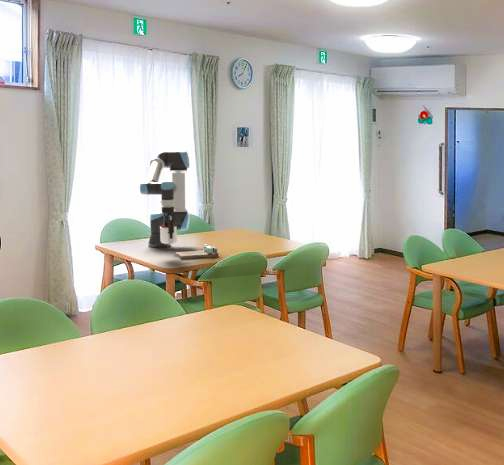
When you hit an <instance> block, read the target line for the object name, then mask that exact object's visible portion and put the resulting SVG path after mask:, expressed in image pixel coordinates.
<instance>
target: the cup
mask: <svg viewBox="0 0 504 465" xmlns="http://www.w3.org/2000/svg"><path fill="white" fill-rule="evenodd" d="M177 231H178V230H177V227H176V226H174V233H173V244H176V243H177V239H178V238H177V237H178V236H177V235H178V234H177ZM168 232H169V230H168V227H165V226H161V227H160V241H161V243H164V244H169V240H168Z"/></svg>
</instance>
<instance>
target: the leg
mask: <svg viewBox="0 0 504 465" xmlns="http://www.w3.org/2000/svg"><path fill="white" fill-rule="evenodd" d="M203 246H204V247H203V250H205V251H206V252H207V253H213V248H212V247H213V246H210V245H209V244H208V243H207V244H206V243H205V244H204V245H203Z"/></svg>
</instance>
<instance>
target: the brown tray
mask: <svg viewBox="0 0 504 465" xmlns="http://www.w3.org/2000/svg"><path fill="white" fill-rule="evenodd" d="M211 247H212V248H213V253H207V252H206V251H205V250H204V249H202V250H201V249H200V250H189V251H177V252H174V253H175V255H174V256H175V257H177V258H179V259H180V260H192V259H194V260H195V259H204V258H205V259H207V258H218V257H219V253H218V248H217V247H216V246H214V245H213V246H211Z"/></svg>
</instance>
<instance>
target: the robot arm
mask: <svg viewBox="0 0 504 465" xmlns="http://www.w3.org/2000/svg"><path fill="white" fill-rule="evenodd" d="M149 163H150V164H149V165H150V168H149V170H148V173H147V176H146V179H145V181H143V182H140V185H139V191H140V194H141V195H146V196H147V195H151V196H152V195H153V196H154V195H161V196H160V197H161V201H160V203H161V211H155V212H152V213H151V214H150V218H149V221H150V222H149V223H150V236H149V238H148V242H147V243H148V247H150V248H165V247H170V246H171V244H174V243H173V233H174V226H176V227H177V231H187V230H188V229H189V226H190V220H191V214H190V213H189V212H188V210H187V209H186V173H187V171H188V169H189V168H190V157H189V153H188V151H186V150H162V151H159V152H157V153H156V154H154V156H153V157H152V158H151V160H150V162H149ZM164 169H169V171H170V172H171V173H172V174H171V177H172V178H171V180H162V181H160V182H159V180H160V177H161V174H162V170H164ZM161 226H165V227H168V230H169V232H168V240H169V244H164V243H161V241H160V227H161Z"/></svg>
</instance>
